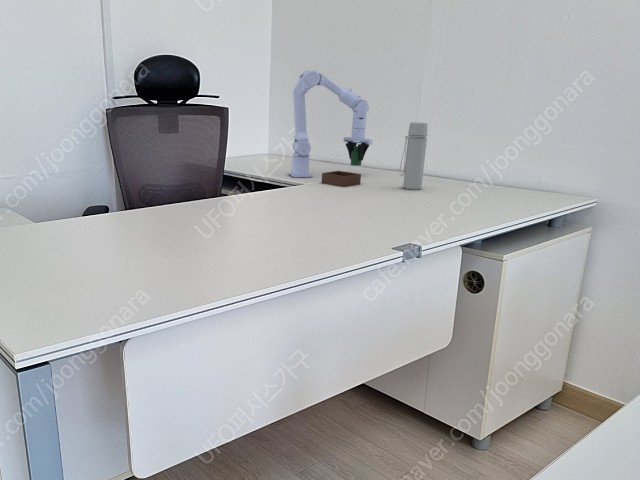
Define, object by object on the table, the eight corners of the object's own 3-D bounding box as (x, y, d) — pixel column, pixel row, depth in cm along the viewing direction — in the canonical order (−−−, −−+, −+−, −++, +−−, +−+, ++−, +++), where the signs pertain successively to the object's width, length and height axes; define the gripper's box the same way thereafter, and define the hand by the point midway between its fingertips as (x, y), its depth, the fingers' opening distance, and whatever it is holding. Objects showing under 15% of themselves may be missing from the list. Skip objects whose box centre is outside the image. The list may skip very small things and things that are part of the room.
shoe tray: (321, 182, 247) (322, 173, 245) (337, 180, 253) (338, 170, 252) (344, 186, 238) (344, 176, 237) (360, 184, 244) (361, 174, 243)
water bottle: (419, 187, 238) (426, 122, 229) (423, 190, 231) (430, 123, 222) (396, 186, 239) (402, 122, 230) (399, 190, 232) (405, 123, 223)
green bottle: (349, 164, 267) (350, 146, 264) (358, 164, 267) (360, 145, 265) (352, 165, 262) (354, 147, 260) (362, 165, 263) (364, 147, 260)
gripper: (377, 128, 257) (375, 160, 261) (351, 126, 267) (349, 157, 272) (367, 129, 252) (365, 162, 257) (341, 127, 263) (339, 158, 267)
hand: (356, 159), depth 264 cm, fingers closed on green bottle, 4 cm apart
